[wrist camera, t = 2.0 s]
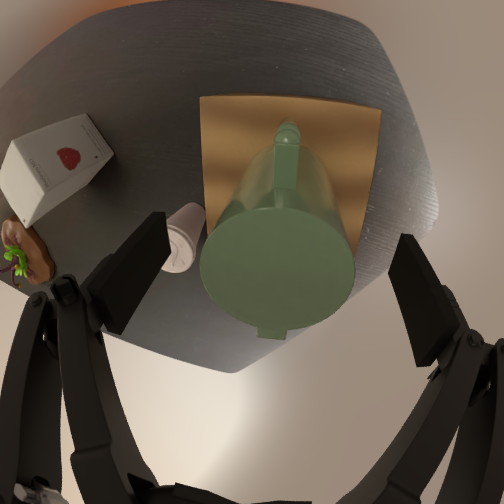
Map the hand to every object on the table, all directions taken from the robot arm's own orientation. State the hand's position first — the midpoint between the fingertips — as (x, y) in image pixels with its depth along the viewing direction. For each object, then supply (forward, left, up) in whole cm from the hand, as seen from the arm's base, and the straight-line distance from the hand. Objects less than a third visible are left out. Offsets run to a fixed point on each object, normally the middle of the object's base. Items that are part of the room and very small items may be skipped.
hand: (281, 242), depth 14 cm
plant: (+21, -62, -21) cm, 69 cm away
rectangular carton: (-1, -31, -21) cm, 38 cm away
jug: (0, 0, -9) cm, 9 cm away
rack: (0, 0, -21) cm, 21 cm away
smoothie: (+10, -13, -21) cm, 27 cm away
